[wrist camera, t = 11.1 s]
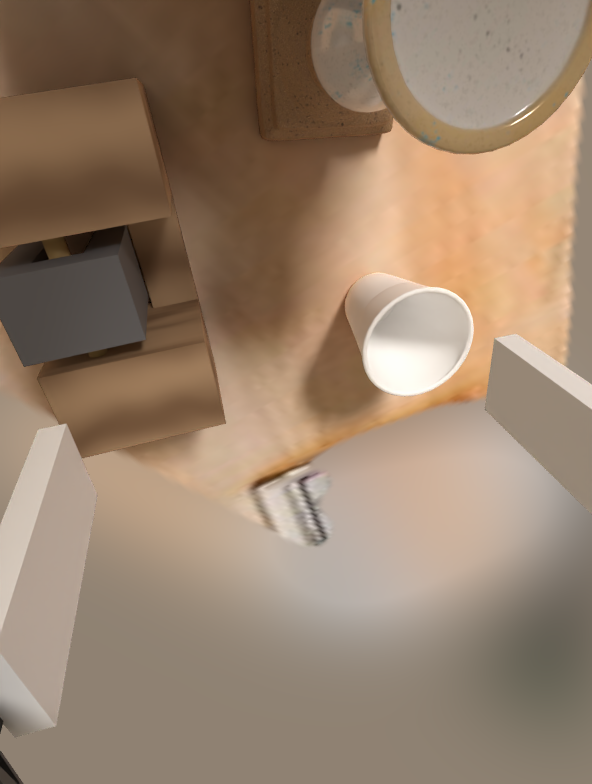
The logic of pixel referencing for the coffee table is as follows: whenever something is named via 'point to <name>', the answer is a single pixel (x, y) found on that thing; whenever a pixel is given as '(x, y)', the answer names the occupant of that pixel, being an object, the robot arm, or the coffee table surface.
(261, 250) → the coffee table surface
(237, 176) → the coffee table surface
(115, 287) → the slotted gray cube
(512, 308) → the coffee table surface
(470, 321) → the cup
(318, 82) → the candle holder
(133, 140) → the wooden block dumbbell
